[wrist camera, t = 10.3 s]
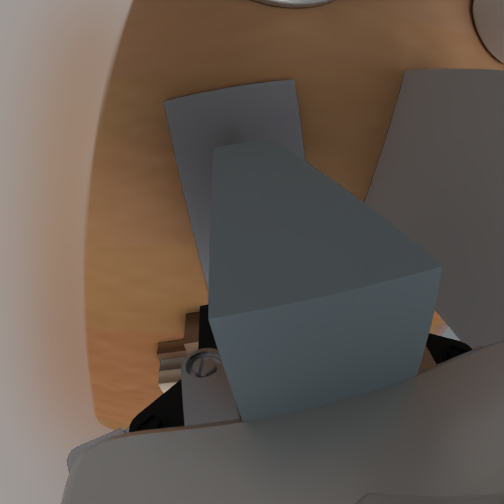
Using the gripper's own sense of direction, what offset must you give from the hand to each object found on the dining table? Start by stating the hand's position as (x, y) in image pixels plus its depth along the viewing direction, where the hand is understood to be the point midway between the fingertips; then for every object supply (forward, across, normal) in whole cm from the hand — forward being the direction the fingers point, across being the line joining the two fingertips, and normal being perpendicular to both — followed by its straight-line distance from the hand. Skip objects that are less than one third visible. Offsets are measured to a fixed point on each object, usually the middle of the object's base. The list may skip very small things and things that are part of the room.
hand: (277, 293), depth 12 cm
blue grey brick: (+7, 0, 0) cm, 7 cm away
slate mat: (+13, 0, 0) cm, 13 cm away
